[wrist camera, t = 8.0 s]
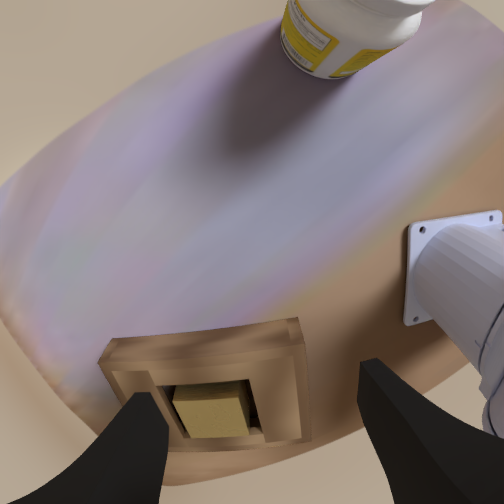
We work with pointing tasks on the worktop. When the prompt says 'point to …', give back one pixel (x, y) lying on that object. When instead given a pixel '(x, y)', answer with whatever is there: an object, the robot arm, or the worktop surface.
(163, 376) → the brown wooden frame
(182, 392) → the wooden block
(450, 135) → the worktop surface
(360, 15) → the supplement bottle
